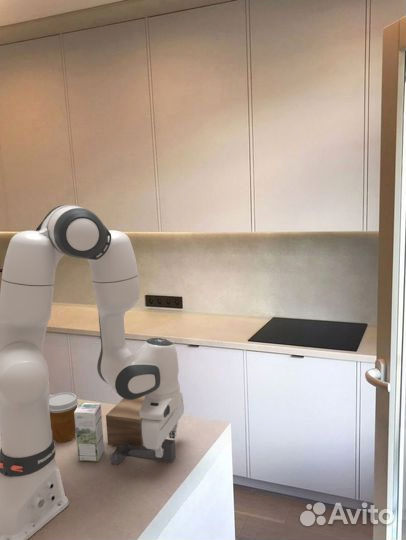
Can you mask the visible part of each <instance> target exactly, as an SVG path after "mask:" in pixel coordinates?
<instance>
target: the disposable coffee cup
mask: <svg viewBox="0 0 406 540" xmlns="http://www.w3.org/2000/svg"><path fill="white" fill-rule="evenodd" d="M78 406H79V398H78V397H77V395H76V394H75V393H73V392H60V393H58V392H57V393H55V394H53V395H50V399H49V411H50V422H51V432H52V437H53V438H54V442H56V443H66V442H69V441H72V440H73V439H74V438H76V427H75V417H74V412H75V410H76V409H77V407H78Z"/></svg>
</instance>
